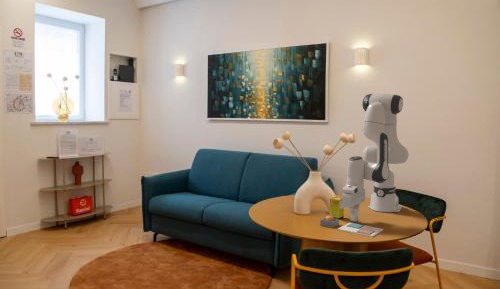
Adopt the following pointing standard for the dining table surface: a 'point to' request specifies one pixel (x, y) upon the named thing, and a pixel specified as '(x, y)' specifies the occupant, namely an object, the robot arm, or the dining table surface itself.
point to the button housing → (329, 222)
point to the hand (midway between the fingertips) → (354, 212)
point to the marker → (354, 216)
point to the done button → (330, 218)
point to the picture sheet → (360, 229)
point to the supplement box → (336, 207)
